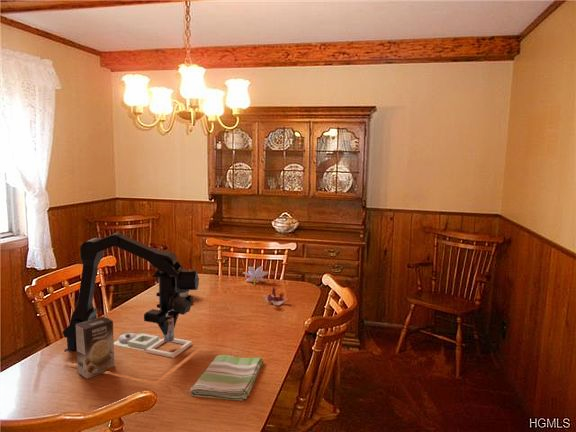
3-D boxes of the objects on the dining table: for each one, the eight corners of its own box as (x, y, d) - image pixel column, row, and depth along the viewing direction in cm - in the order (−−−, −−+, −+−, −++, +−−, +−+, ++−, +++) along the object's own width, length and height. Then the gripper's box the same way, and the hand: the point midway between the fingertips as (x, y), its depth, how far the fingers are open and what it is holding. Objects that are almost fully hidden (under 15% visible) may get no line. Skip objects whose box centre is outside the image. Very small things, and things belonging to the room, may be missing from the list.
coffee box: (87, 379, 130) (84, 329, 127) (77, 372, 134) (74, 323, 131) (115, 368, 137) (113, 320, 134) (105, 362, 141) (103, 315, 138)
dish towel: (188, 397, 122) (187, 385, 122) (214, 359, 144) (214, 349, 144) (246, 403, 119) (246, 392, 119) (264, 364, 142) (264, 354, 141)
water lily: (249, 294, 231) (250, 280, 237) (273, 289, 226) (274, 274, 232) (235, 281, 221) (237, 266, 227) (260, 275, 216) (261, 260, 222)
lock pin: (170, 342, 146) (169, 319, 145) (161, 340, 148) (161, 318, 146) (176, 338, 150) (175, 316, 148) (167, 336, 151) (167, 314, 150)
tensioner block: (143, 353, 147) (143, 345, 147) (111, 346, 152) (111, 338, 151) (161, 341, 156) (161, 333, 156) (130, 335, 161) (130, 328, 161)
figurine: (284, 310, 189) (285, 296, 188) (259, 308, 191) (259, 294, 190) (289, 299, 204) (290, 285, 203) (265, 297, 206) (265, 284, 205)
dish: (173, 360, 142) (173, 354, 142) (146, 354, 146) (146, 349, 146) (191, 346, 152) (191, 341, 152) (166, 341, 156) (165, 336, 156)
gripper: (170, 301, 135) (172, 347, 137) (202, 284, 152) (203, 326, 154) (142, 296, 138) (143, 341, 141) (176, 280, 156) (177, 321, 158)
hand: (168, 332), depth 148 cm, fingers closed on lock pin, 3 cm apart
